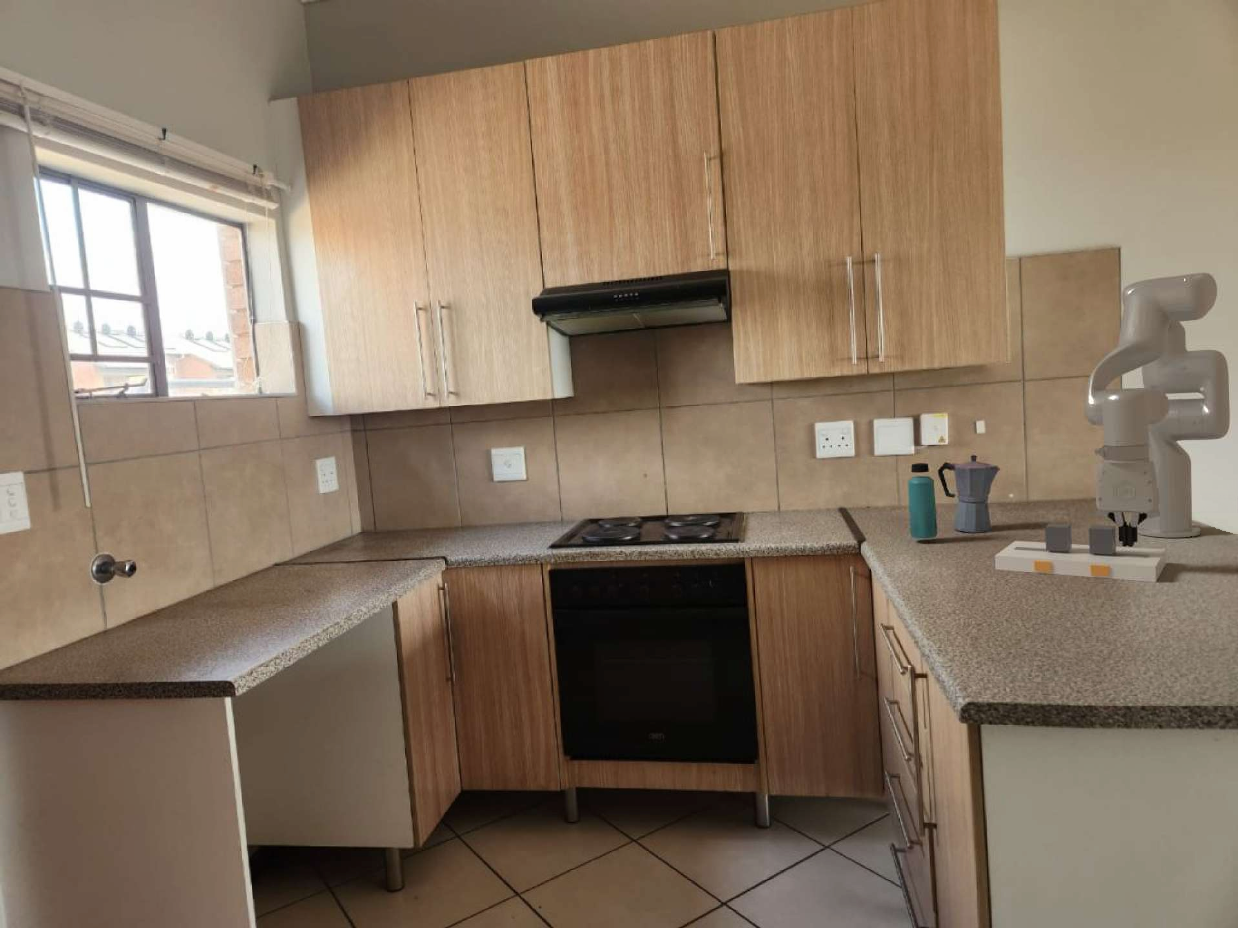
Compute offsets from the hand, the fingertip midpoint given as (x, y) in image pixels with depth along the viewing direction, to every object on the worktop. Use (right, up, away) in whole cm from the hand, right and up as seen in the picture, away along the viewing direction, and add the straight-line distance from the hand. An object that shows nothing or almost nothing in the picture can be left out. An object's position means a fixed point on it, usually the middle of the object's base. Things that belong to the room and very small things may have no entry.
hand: (1128, 545), depth 155 cm
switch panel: (-6, -5, +6) cm, 10 cm away
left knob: (-9, -2, +8) cm, 12 cm away
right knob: (-3, -2, +3) cm, 5 cm away
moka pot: (-8, -2, +51) cm, 52 cm away
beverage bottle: (-24, -4, +42) cm, 48 cm away
